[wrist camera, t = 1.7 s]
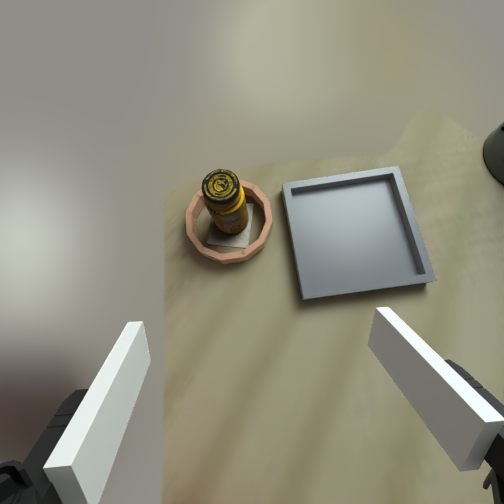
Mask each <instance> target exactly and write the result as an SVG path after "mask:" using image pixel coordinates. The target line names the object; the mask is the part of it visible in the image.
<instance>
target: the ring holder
mask: <svg viewBox="0 0 504 504" xmlns="http://www.w3.org/2000/svg"><path fill="white" fill-rule="evenodd" d="M238 180H239V183H240V185H241V186H242V188H243V190H244V193H245V195H247V196H250V197H253V198H254V200H255V201H256V202H257V203H258V204H259V205H260V206H261V208H262V209H263V210H264V215H265V221H266V223H265V225H264V227H263V230H262V232H261V235H260V237H259V239H258V240H256V241H255V242H254V243H252V244H251V245H250V246H248V247H247V248H246V249H244V250H243V251H239V252H232V253H225V254H221V253H218V252H216V251H213V250H211V249H208V248H206V247H204V246H203V244H202V243H201V242H200V240H199V239H198V238H197V225H196V220H197V218H198V216H199V214H200V212H201V209H202V207H203V205H204V204H205V203H204V196H203V193H202V189H201V190H200V191H198V192H197V193H195V195H194V197H193V199H192V201H191V203H190V205H189V207H188V209H187V211H186V213H185V216H186V231H187V235H188V237H189V238H190V239H191V241H192V242H193V243H194V245H195V246H196V247H197V249H198V250H199V252H200V253H201V254H202V255H203V256H205V257H208V258H210V259H213V260H215V261H218V262H220V263H223V264H229V263H236V262H243V261H247V260H248V259H250V258H251V257H252V256H254V255H255V254H256V253H258V252H259V251H260V250H262V249H263V248H264V247H265V244H266V242H267V239H268V237H269V235H270V232H271V230H272V224H273V221H272V215H271V209H270V203H269V200H268V199H267V197H266V196H265V195H264V194H263V193H262V192H261V191H260V190H259V188H258V187H257V186H256V185H255V184H252V183H249V182H246V181H243V180H240V179H238Z"/></svg>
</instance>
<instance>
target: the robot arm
mask: <svg viewBox="0 0 504 504" xmlns="http://www.w3.org/2000/svg"><path fill="white" fill-rule="evenodd" d="M484 158H485V162H486V164H487V166H488V168H489V170H490V171H491V172H492V174H493V175H494V176H495V177H496V178H497V179H498V180H499V181H500V182H502V183H503V184H504V122H503V123H502V124H501V125H500V126H498V128H496V129H495V130H494V131H493V132H491V134H490V135H489V136H488V137H487V139H486V141H485V144H484ZM368 346H369V348H370V349H371V350H372V352H373V353H374V354H375V356H376V357H377V359H378V360H379V361H380V363H381V364H382V365H383V367H384V368H385V369H386V371H387V372H388V374H389V375H390V376H391V378H392V379H393V380H394V382H395V383H396V385H397V386H398V387H399V389H400V390H401V391H402V393H403V394H404V396H405V397H406V398H407V400H408V401H409V402H410V404H411V405H412V407H413V408H414V409H415V411H416V412H417V413H418V415H419V416H420V417H421V419H422V420H423V422H424V423H425V424H426V426H427V427H428V428H429V430H430V431H431V433H432V434H433V435H434V437H435V438H436V439H437V441H438V442H439V444H440V445H441V446H442V448H443V449H444V450H445V452H446V453H447V455H448V456H449V457H450V459H451V460H452V461H453V463H454V464H455V465H456V467H457V468H458V470H459V471H468V470H477V469H479V468H480V466H481V464H482V462H483V461H484V459H485V460H486V462H487V463H488V464H489V465H490V466H491V467H492V469H491V471H490V472H489V474H488V476H487V477H486V479H485V481H484V483H483V488H484V489H486V490H487V489H488V487H489V485H490V484H491V485H492V491H493V498H494V504H504V405H503V404H502V403H500V402H499V401H498V400H497V399H496V398H495V397H494V396H493V395H492V394H491V393H490V392H488V391H487V390H486V389H484V388H483V386H482V385H481V384H480V383H479V382H478V381H476V380H474V378H473V377H472V376H471V375H470V374H469V373H468V372H467V371H465V370H464V369H463V368H462V367H460V366H459V365H457V364H455V363H454V362H452V361H451V360H443V359H442V358H441V357H440V356H439V355H438V354H437V353H436V352H435V351H434V350H433V349H432V348H431V347H429V346H428V345H427V344H426V343H425V342H424V341H423V340H422V339H421V338H420V337H419V336H418V335H417V334H416V333H415V332H414V331H413V330H412V329H411V328H410V327H409V326H408V325H407V324H406V323H404V322H403V321H402V320H401V319H400V318H399V317H398V316H397V315H396V314H395V313H394V312H393V311H392V310H391V309H390V308H389V307H379V308H376V309H375V314H374V318H373V323H372V327H371V332H370V337H369V341H368ZM150 361H151V359H150V354H149V350H148V344H147V339H146V335H145V330H144V325H143V321H140V322H128V323H127V325H126V327H125V328H124V330H123V332H122V334H121V335H120V337H119V339H118V340H117V342H116V344H115V346H114V347H113V349H112V351H111V352H110V354H109V356H108V357H107V359H106V361H105V363H104V364H103V366H102V368H101V370H100V371H99V373H98V375H97V376H96V378H95V380H94V382H93V383H92V385H91V387H90V388H89V389H82V390H75V391H74V392H73V393H72V394H71V395H70V396H69V397H68V398H67V399H66V400H65V401H64V402H63V403H62V404H61V406H60V407H59V409H58V410H57V412H56V414H55V415H54V418H52V420H51V421H50V423H49V424H48V426H47V429H46V430H44V432H43V433H42V435H41V436H40V438H39V440H38V441H37V443H36V444H35V445H34V447H33V448H32V450H31V452H30V453H29V455H28V456H27V458H26V459H25V461H24V462H23V464H22V463H21V462H18V461H14V460H13V461H8V462H3V463H1V464H0V504H98V503H99V500H100V498H101V495H102V492H103V490H104V487H105V484H106V481H107V479H108V476H109V473H110V470H111V468H112V465H113V462H114V460H115V457H116V454H117V451H118V449H119V446H120V443H121V440H122V438H123V435H124V432H125V430H126V427H127V424H128V421H129V418H130V416H131V413H132V410H133V408H134V405H135V402H136V399H137V397H138V394H139V391H140V389H141V386H142V383H143V380H144V378H145V375H146V372H147V369H148V367H149V364H150Z"/></svg>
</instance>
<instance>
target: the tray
mask: <svg viewBox="0 0 504 504" xmlns="http://www.w3.org/2000/svg"><path fill="white" fill-rule="evenodd" d="M282 195H283V201H284V206H285V211H286V217H287V222H288V228H289V233H290V239H291V244H292V250H293V255H294V260H295V266H296V271H297V277H298V282H299V288H300V293H301V299H302V300H308V299H315V298H322V297H329V296H337V295H344V294H351V293H358V292H365V291H373V290H380V289H387V288H394V287H401V286H409V285H416V284H423V283H429V282H433V281H437V280H436V277H435V274H434V271H433V268H432V265H431V262H430V259H429V256H428V253H427V250H426V247H425V244H424V241H423V238H422V235H421V232H420V229H419V226H418V223H417V220H416V217H415V214H414V211H413V208H412V206H411V203H410V200H409V197H408V194H407V191H406V188H405V185H404V182H403V179H402V176H401V173H400V170H399V167H398V166H393V167H387V168H380V169H373V170H367V171H360V172H354V173H347V174H341V175H334V176H327V177H321V178H314V179H308V180H301V181H295V182H288V183H282Z"/></svg>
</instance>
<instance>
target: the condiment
mask: <svg viewBox="0 0 504 504" xmlns="http://www.w3.org/2000/svg"><path fill="white" fill-rule="evenodd" d="M202 193H203V196H204V203H205V205H206V207H207V209H208V211H209V213H210V215H211V216H212V218H211V224H210V229H209V235H208V240H207V244H212V245H220V246H230V247H240V248H247V247H248V244H249V236H250V229H251V221H252V213H253V205H254V204H252V203H246V199H245V193H244V190H243V188H242V186H241V185H240V183H239V180H238V178H237V176H236V175H235V174H234V173H232V172H231V171H229V170H223V169H218V170H215V171H212V172H211V173H209V174H208V175H207V176H206V177H205V179H204V180H203V182H202ZM238 234H240V235H238ZM236 236H238V237H236Z"/></svg>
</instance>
